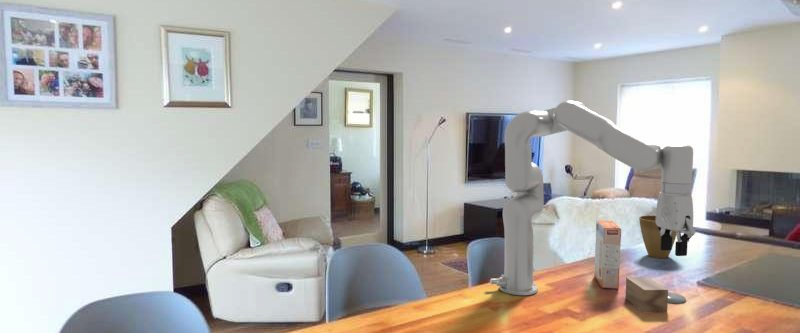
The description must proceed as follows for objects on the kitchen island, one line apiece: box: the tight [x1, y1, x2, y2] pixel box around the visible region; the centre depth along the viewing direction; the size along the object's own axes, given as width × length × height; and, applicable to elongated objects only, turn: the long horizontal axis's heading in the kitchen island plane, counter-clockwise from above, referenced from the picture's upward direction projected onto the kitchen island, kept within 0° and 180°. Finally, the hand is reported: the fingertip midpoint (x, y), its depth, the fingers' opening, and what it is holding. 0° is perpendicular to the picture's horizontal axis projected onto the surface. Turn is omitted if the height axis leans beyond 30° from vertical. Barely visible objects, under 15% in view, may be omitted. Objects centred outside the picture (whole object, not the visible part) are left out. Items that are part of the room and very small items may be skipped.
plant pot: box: [638, 214, 677, 259], centre depth 212 cm, size 15×15×16 cm
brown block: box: [625, 276, 669, 314], centre depth 156 cm, size 7×12×7 cm, turn 0°
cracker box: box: [593, 219, 622, 290], centre depth 177 cm, size 14×6×21 cm, turn 168°
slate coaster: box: [668, 291, 687, 304], centre depth 162 cm, size 9×9×1 cm
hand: (673, 252), depth 143 cm, fingers open, 5 cm apart
